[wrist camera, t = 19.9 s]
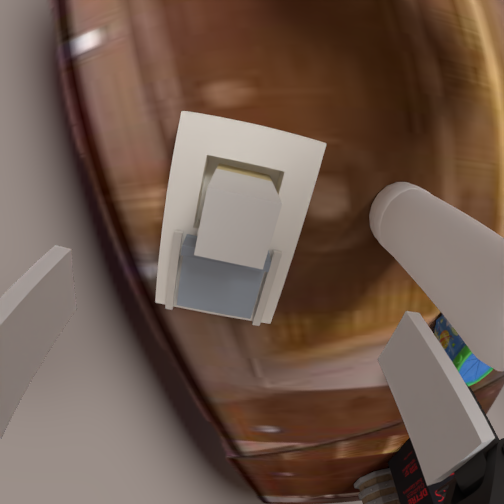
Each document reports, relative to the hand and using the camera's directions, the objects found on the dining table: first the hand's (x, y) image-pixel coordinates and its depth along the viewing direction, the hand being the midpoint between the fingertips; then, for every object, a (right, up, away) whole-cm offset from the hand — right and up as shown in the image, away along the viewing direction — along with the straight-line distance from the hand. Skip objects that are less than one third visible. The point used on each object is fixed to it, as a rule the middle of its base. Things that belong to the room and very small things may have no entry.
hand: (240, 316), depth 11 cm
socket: (-2, +6, +20) cm, 21 cm away
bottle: (+17, +7, +21) cm, 28 cm away
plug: (-1, +8, +19) cm, 21 cm away
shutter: (-3, 0, +20) cm, 20 cm away
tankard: (+38, -70, +58) cm, 98 cm away
